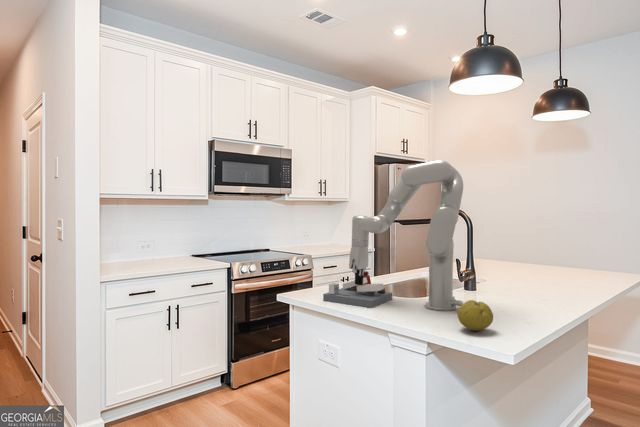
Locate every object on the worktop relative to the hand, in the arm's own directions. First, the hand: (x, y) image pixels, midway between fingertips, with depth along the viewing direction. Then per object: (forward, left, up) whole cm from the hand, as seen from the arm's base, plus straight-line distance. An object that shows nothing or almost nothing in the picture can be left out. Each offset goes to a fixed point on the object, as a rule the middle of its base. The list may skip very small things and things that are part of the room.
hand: (358, 284), depth 188 cm
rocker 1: (+5, -6, -2) cm, 8 cm away
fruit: (-55, +19, -7) cm, 58 cm away
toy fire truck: (+7, -18, -7) cm, 21 cm away
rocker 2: (-6, 0, -2) cm, 6 cm away
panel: (0, 0, -7) cm, 7 cm away
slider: (+9, +7, -4) cm, 12 cm away
